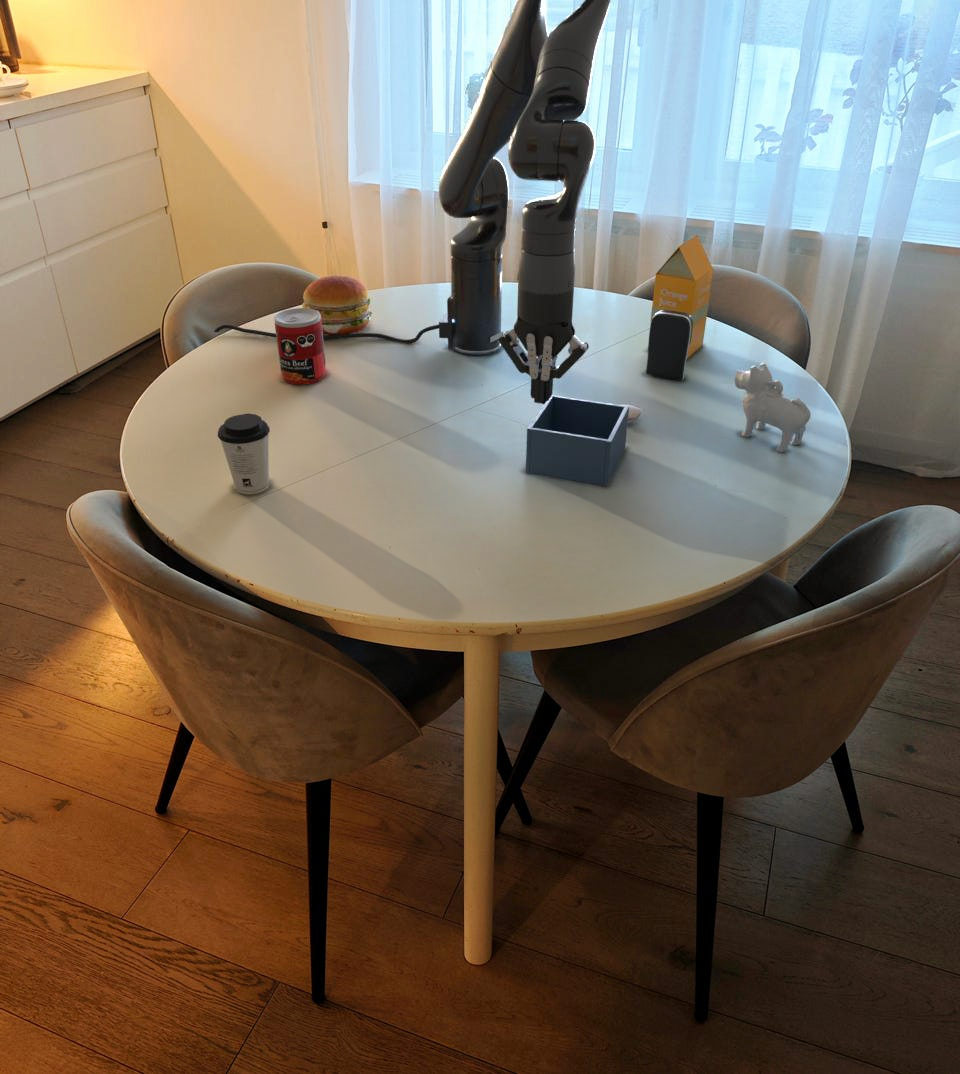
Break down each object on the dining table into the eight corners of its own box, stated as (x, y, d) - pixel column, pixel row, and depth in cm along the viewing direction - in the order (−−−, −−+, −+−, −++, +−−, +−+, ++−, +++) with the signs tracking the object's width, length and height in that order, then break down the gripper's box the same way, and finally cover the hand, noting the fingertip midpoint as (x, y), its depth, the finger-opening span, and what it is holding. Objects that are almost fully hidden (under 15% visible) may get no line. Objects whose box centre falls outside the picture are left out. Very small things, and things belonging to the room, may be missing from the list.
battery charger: (688, 374, 160) (696, 311, 153) (682, 382, 157) (691, 318, 151) (649, 367, 162) (656, 305, 156) (643, 375, 159) (650, 312, 153)
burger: (368, 340, 173) (364, 289, 167) (297, 340, 173) (291, 289, 168) (376, 316, 184) (373, 267, 179) (309, 316, 184) (304, 267, 179)
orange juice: (703, 345, 171) (718, 237, 160) (686, 360, 165) (700, 249, 154) (664, 336, 175) (677, 231, 164) (646, 351, 169) (657, 242, 158)
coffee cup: (253, 504, 123) (242, 438, 118) (216, 490, 126) (204, 425, 121) (287, 482, 128) (279, 418, 123) (251, 469, 131) (241, 406, 126)
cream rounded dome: (607, 417, 145) (608, 402, 144) (634, 411, 147) (635, 397, 146) (621, 428, 142) (622, 413, 141) (648, 422, 144) (650, 408, 142)
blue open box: (526, 428, 127) (611, 441, 123) (550, 394, 136) (629, 406, 133) (525, 472, 130) (607, 486, 127) (548, 436, 140) (625, 448, 137)
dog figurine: (739, 417, 146) (750, 354, 140) (809, 445, 137) (823, 379, 132) (719, 427, 143) (729, 363, 137) (789, 456, 135) (803, 389, 129)
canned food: (273, 381, 157) (264, 320, 151) (297, 364, 163) (290, 305, 157) (311, 388, 155) (304, 326, 149) (334, 371, 161) (329, 311, 155)
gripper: (601, 280, 122) (592, 398, 131) (509, 268, 126) (506, 384, 135) (586, 297, 116) (577, 419, 126) (489, 284, 120) (488, 404, 130)
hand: (540, 401), depth 130 cm, fingers closed
